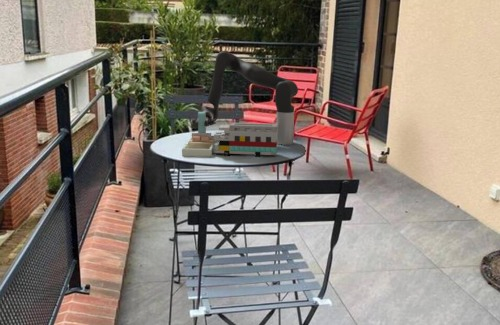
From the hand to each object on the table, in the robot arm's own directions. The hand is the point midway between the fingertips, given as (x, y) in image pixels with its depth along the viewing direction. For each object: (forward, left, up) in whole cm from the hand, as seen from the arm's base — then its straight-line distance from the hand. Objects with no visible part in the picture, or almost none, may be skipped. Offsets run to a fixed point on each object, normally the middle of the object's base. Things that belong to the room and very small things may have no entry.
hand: (201, 124), depth 251 cm
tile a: (-2, +2, -8) cm, 9 cm away
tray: (0, +12, -12) cm, 17 cm away
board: (0, -2, -12) cm, 12 cm away
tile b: (+2, +2, -8) cm, 9 cm away
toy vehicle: (-23, +13, -12) cm, 29 cm away
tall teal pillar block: (0, -3, -7) cm, 8 cm away
